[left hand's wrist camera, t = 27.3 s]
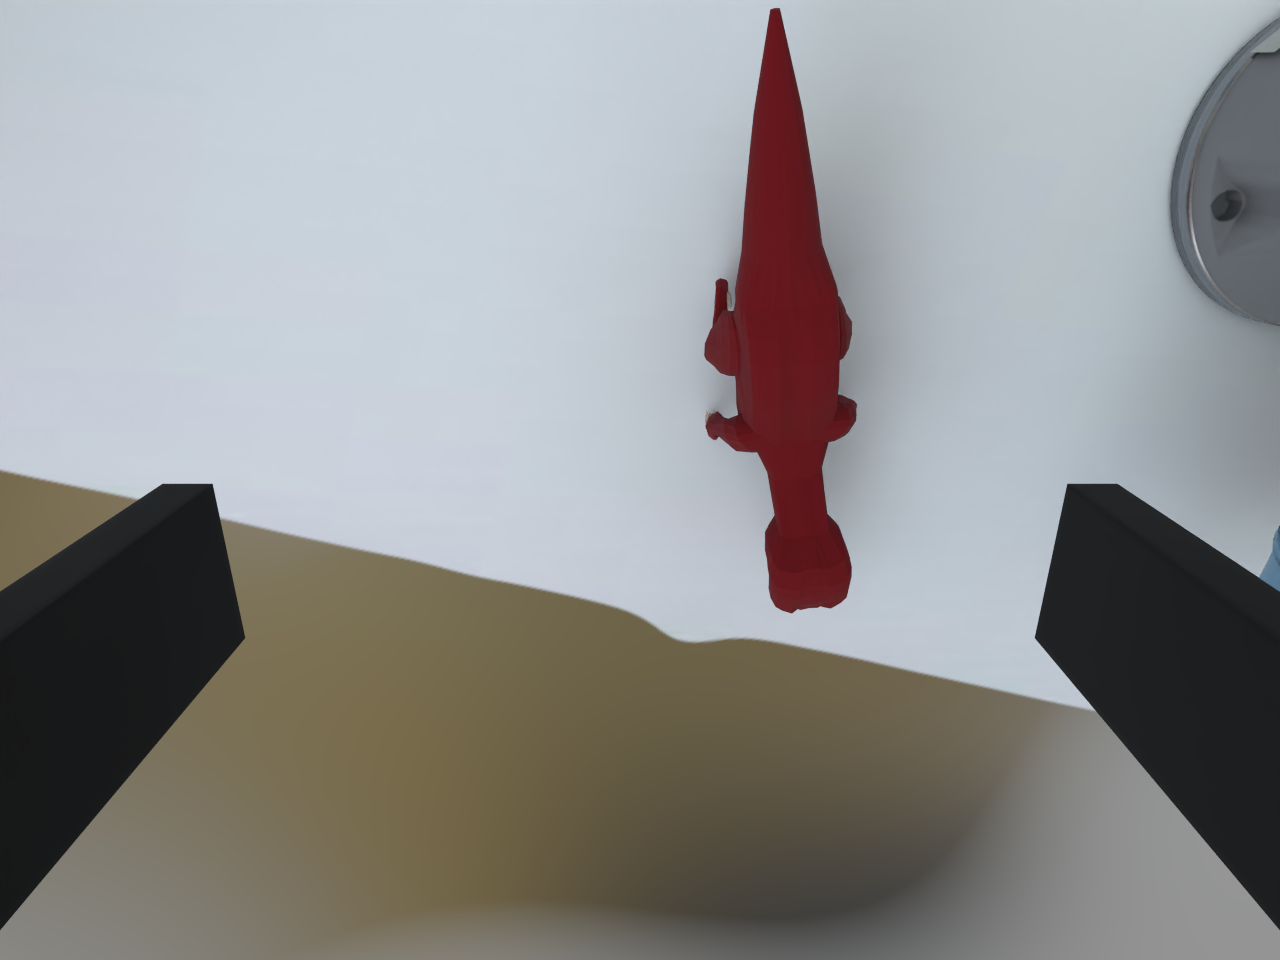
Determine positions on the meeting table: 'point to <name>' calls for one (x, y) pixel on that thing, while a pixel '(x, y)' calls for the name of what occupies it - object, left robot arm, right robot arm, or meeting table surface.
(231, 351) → the meeting table surface
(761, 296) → the toy
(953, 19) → the meeting table surface
